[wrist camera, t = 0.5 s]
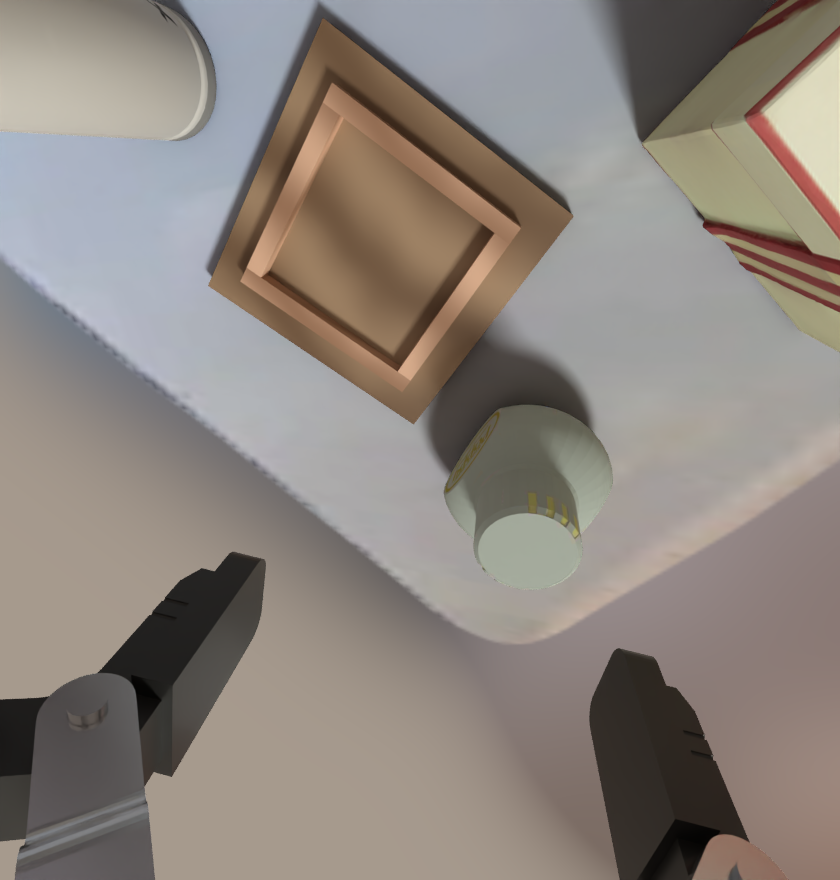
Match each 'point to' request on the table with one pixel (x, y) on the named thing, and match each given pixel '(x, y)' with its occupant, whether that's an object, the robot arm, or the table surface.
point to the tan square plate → (381, 229)
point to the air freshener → (529, 493)
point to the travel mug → (103, 70)
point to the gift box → (770, 158)
